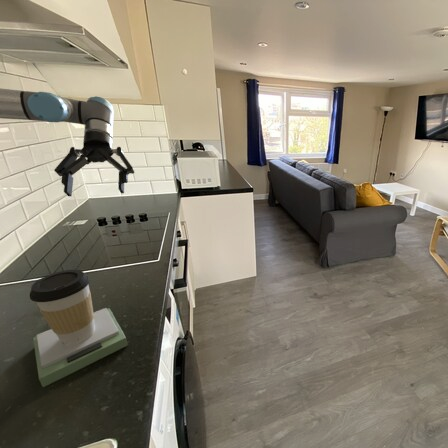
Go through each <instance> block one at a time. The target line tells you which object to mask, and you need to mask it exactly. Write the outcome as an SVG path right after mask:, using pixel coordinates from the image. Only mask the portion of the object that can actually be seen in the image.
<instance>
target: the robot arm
mask: <svg viewBox="0 0 448 448" xmlns="http://www.w3.org/2000/svg"><path fill="white" fill-rule="evenodd" d="M0 119H2V120H3V119H4V120H5V119H6V120H21V121H32V122H33V121H34V122H35V121H36V122H46V123H70V124H77V125H82V126H83V125H84V131H83V143H82V145H83V147H82V148H76V147H75V146H71V147H70V148H69V152H68V153H67V154H66V156H64V158H63V159H62V160H61V161H60V162H59V163H58V165H56V166H55V168H54V170H53V171H54V173H55V174H56V175H58V176H59V177H61V184H62V185H63V193H64V194H65V195H66V196H67V197H72V196H73V185H74V176H73V175H75V174H76V173H78V171H80V170H81V169H83V168H84V167H85V166H86V165H89V164H91V163H93V164H94V163H105V162H107V163H109V164H110V165H112V166H113V167H114V168H115V169H116V170H118V185H117V186H118V189H117V190H118V191H119V192H120V194H125V184H128V182H129V175H131V174H132V175H133V174H135V170H134V168H133V165H132V164H131V163H130V162H129V161H128V159H127V157H126V156H125V154H124V151H123V149H122V147H121V146H117V147H116V148H113V137H114V136H113V135H114V107H113V105H112V104H111V102H110V101H109V100H107V99H106V98H103V97H102V96H97V95H96V96H90V97H88V99H87V100H86V101H85V100H78V99H73V98H69V97H63V96H60V95H57V94H54V93H52V92H47V91H31V90H30V91H29V90H25V91H24V90H20V89H19V90H18V89H10V88H8V89H7V88H0ZM114 154H115V156H117V157H119V158H120V160H121V162H122V163H123V164H124V166H123V165H122V164H120V162H118V161H117V160H116V159H115V158H113V157H112V156H113V155H114Z"/></svg>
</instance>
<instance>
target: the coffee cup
mask: <svg viewBox="0 0 448 448" xmlns="http://www.w3.org/2000/svg"><path fill="white" fill-rule="evenodd" d="M90 282H91V279H90V277H89V276H88V274H86V273H84V271H83V270H80V269H66V270H61V271H57V272H53V273H50V274H48V275H45V276H43V277H41V278H40V279H38V280H36V281H35V282H34V283H33V284H32V285H31V287H30V291H29V299H30V300H31V302H35V304H36V305H37V306H38V307H37V308H38V310H39V312H40V314H41V315H42V317H43V318H44V319H45V321H46V323H47V324H48V326H49V327H50V329H52V330H53V332H54V333H55V334H56V335H57V336H58V338H59V339H60V341H61V342H62V344H63V345H75V344H78V343H81V342H83V341H85V340H87V339H88V338H89V337H91V336H92V335H93V334H94V332H95V324H94V306H93V301H92V300H93V299H92V293H91V290H90V286H89V284H90Z"/></svg>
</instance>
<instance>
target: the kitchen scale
mask: <svg viewBox="0 0 448 448" xmlns="http://www.w3.org/2000/svg"><path fill="white" fill-rule="evenodd" d="M93 313H94V324H95V332H94V334H93V335H92V336H91V337H89V338H88V339H87V340H85V341H83V342H81V343H78V344H75V345H63V344H62V342H61V341H60V339H59V338H58V336H57V335H56V334H55V333H54V332H53V330H52V329H51V328H50V329H48V330H46V331H43V332H40V333H38V334H36V336H35V337H33V339H32V340H33V346H34V354H35V360H36V361H35V362H36V369H37V376H38V380H39V383H40V385H41V386H42V388H45V387H47V386H49V385H51V384H53V383H56V382H57V381H59V380H61V379H64V378H65V377H67V376H70V375H71V374H73V373H75V372H77V371H79V370H81V369H83V368H85V367H87V366H89V365H91V364H93V363H95V362H97V361H99V360H101V359H103V358H105V357H107V356H110V355H111V354H113V353H115V352H117V351H121V350H122V349H123V348H125V347H127V346H129V344H128V341H127V338H126V335H125V333H124V331H123V330H122V328H121V326H120V324H119V323H118V321H117V319H116V318H115V316H114V314H113V312H112V310H111V308H109V307H108V308H107V307H104V308H102V309H99V310H96V311H93Z"/></svg>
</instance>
